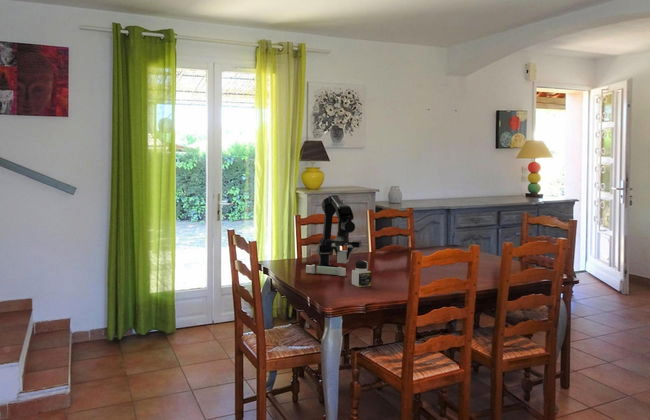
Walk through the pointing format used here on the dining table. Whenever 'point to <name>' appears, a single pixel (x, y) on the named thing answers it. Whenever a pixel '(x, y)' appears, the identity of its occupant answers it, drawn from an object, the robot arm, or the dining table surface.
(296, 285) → the dining table surface
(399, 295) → the dining table surface
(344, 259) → the grey cube block
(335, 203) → the robot arm
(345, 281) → the dining table surface
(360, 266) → the medicine bottle
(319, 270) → the pale green curved bar
